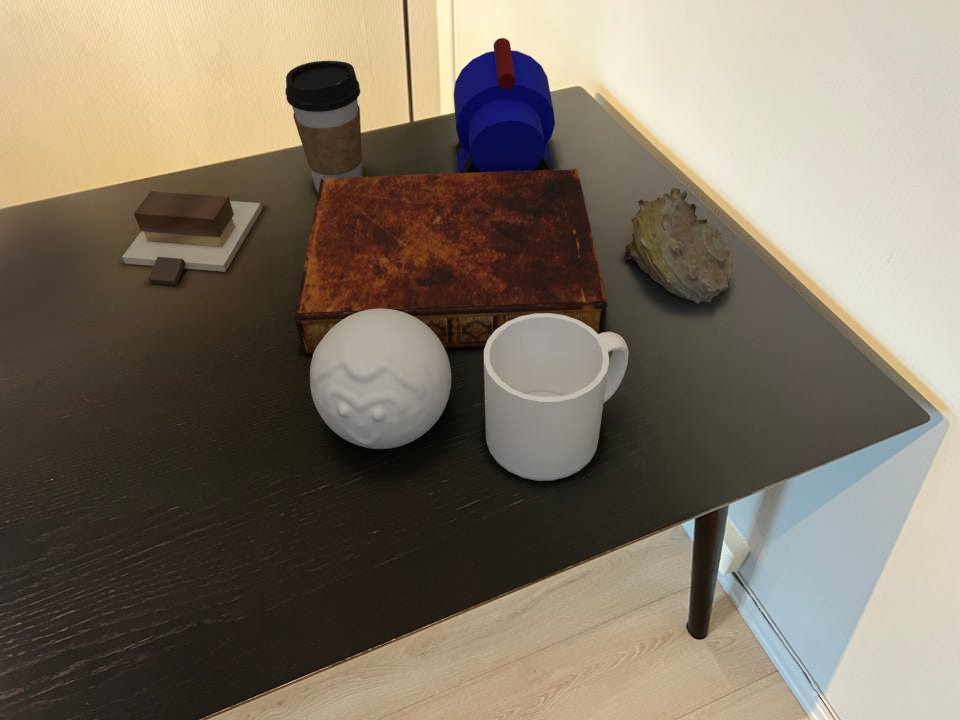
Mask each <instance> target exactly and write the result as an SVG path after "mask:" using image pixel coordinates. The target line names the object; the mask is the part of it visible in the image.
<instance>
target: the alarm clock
mask: <svg viewBox="0 0 960 720" xmlns="http://www.w3.org/2000/svg"><path fill="white" fill-rule="evenodd" d="M511 47H512V46H511V42H510V40H508V38H505V37H499V38H497V39H496V40H495V41H494V42H493V51H486V52H484V53H482V54H480V55H479V56H476V57H474V58H473V59H471V60H470V61H469V62H468V63H467V64H466V65H465V66H464V67H463V68H461V71H460V72H459V73H458V76H457V78H456V80H455V82H454V89H453V104H454V105H453V106H454V118H455V119H454V121H455V131H456V134H457V138H458V141H457V144H456V146H455V154H456V163H457V164H456V165H457V173H479V172H505V171H532V170H555V168H554V165H553V160H552V157H551V156H552V155H551V152H550V147H549V144H548V142H549V141H550V140H551V138H552V137H553V134H554V133H553V132H554V130H555V125H556V120H555V112H554V111H555V110H554V106H553V100H552V93H551V89H550V83H549V78H548V75H547V72H546V71H545V70H544V67H543V66H542V64H540V62H538V61H537V60H536V59H535V58H533V56H531V55H528V54H527V53H523V52H521V51H519V50H512V48H511Z"/></svg>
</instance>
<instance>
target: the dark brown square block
mask: <svg viewBox="0 0 960 720" xmlns="http://www.w3.org/2000/svg"><path fill="white" fill-rule="evenodd" d="M184 266H185V261H184V260H183V259H179V258H166V257H157V259H156V262H155V264H154V266H152V270H151V272H150V275H149V278H148V280H149V282H150V283H151V284H155V285H157V284H158V285H167V286H168V285H169V286H178V285H179V282H180V279H181V277H182V274H183V270H184V269H185V268H184Z"/></svg>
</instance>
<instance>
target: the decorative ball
mask: <svg viewBox="0 0 960 720" xmlns="http://www.w3.org/2000/svg"><path fill="white" fill-rule="evenodd" d="M309 368H310V369H309V386H310V393H311V397H312V400H313V401H312V402H313V403H314V406H315V408H316V411H317V412H318V414H319V416H320V418H321V419H322V420H323V422H324V423H325V424H326V425H327V426H328V427H329V429H331V430H332V431H333V432H334V433H335V434H336V435H337V436H339V437H340V438H341V439H343V440H345V441H347V442H349V443H351V444H354V445H356V446H359V447H363V448H367V449H374V450H375V449H376V450H387V449H394V448H395V449H396V448H399V447H402V446H405V445H407V444H410V443H412V442H414V441H416V440H418V439H419V438H421V437H422V436H423V435H425V434H426V433H427V432H429V430H430V429H432V428H433V426H434V425H435V424H436V423H437V421H438V420H440V418H441V416H442V414H443V413H444V411H445V409H446V407H447V403H448V401H449V398H450V394H451V388H452V369H451V368H452V367H451V364H450V359H449V356H448V353H447V351H446V348H444V347H443V345H442V343H441V341H440V340H439V338H438V337H437V336H436V334H435V333H434V332H433V331H432V330H431V329H430V328H429V327H428V326H427V325H426V324H424V323H423V322H422V321H420V320H419V319H417V318H415V317H413V316H411V315H409V314H407V313H404V312H401V311H397V310H392V309H370V310H365V311H361V312H358V313H355V314H352V315H350V316H348V317H346V318H345V319H343V320H341V321H340V322H339V323H337V324H336V325H335V326H334V327H333V328H331V329H330V330H329V332H328V333H327V334H326V335H325V336H324V337H323V339H322V340H321V342H320V343H319V345H318V346H317V347H316V349H315V351H314V353H312V358H311V362H310V367H309Z"/></svg>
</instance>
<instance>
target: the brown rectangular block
mask: <svg viewBox="0 0 960 720" xmlns="http://www.w3.org/2000/svg"><path fill="white" fill-rule="evenodd" d="M230 201H231V200H230V196H227V195H226V196H225V195H212V194H211V195H210V194H200V193H199V194H197V193H183V192H168V191H153V190H151V191H149V193H148V194H147V196H146V197H145V198H143V200H142V202H141V203H140V204H139V206H138V207H137V208H136V210H135V211H134V212H133V216H134V218H135V220H136V223H137V226H138V228H139V230H140V232H141V231H142V232H144V233H145V236H146V238H147V241H153V242H165V243H178V244H191V245H203V246H216V247H222V246H223V245H224V243H225V241H226V240H227V238H228V236H229V235H230V233H231V232H232V230H233V228H234V227H235V226H234V222H233V219H232V217H233V215H234V213H233V210H232V206H231V203H230Z"/></svg>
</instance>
